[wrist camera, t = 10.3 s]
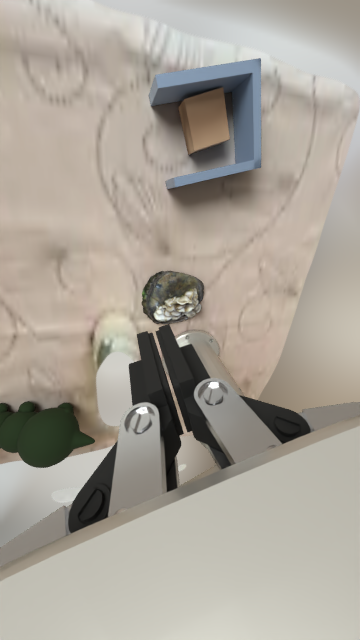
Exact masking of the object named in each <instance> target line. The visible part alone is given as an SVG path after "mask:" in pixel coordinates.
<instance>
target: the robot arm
mask: <svg viewBox="0 0 360 640" xmlns="http://www.w3.org/2000/svg"><path fill="white" fill-rule="evenodd" d="M156 335H157V338H158V341H159V344H160V348H161V351H162V354H163V355H162V361H161V358H160V355H159V352H158V349H157V346H156V343H155V340H154V336H153V333H149V334H148V332H147V331H146V332H143V333H140V334H137V338H138V344H139V349H140V355H141V360H140V361H137V362H134V363H131V364H129V373H130V383H131V394H132V403H133V406H132V407H131V408H129V410H127V411H126V413H125V414H124V416H123V417H122V419H121V423H120V429H119V436H118V441H117V442H116V443H115V445H114V446H113V448H112V449H111V450H110V452H109V453H108V454H107V456H106V457H105V458H104V460H103V461H102V462H101V464H100V465H99V467H98V468H97V469H96V470H95V472H94V473H93V475H92V476H91V477H90V478H89V480H88V481H87V483H86V484H85V485H84V487H83V488H82V489H81V491H80V492H79V493H78V495H77V496H76V498H75V500H74V501H73V503H72V504H71V505H69V506H68V507H65V506H63V507H61V508H59V509H58V510H56V511H55V512H53V513H52V514H50V515H49V516H47V517H46V518H44V519H43V520H41V521H40V522H38V523H37V524H35V525H34V526H32V527H31V528H29V529H27V530H26V531H24V532H23V533H21V534H20V535H18V536H17V537H15V538H14V539H12V540H11V541H9V542H8V543H6V544H5V545H3V546H2V547H0V640H360V402H351V403H344V404H337V405H331V406H323V407H316V408H309V409H303V410H302V413H296V412H294V411H291V410H289V409H285V408H282V407H278V406H275V405H272V404H268V403H264V402H261V401H258V400H254V399H251V398H248V397H245V396H244V394H243V393H242V391H241V390H240V388H239V387H238V385H237V384H236V382H235V381H234V379H233V378H232V376H231V375H230V374H229V372H228V371H227V369H226V368H225V366H224V365H223V363H222V362H221V360H220V359H219V357H218V356H219V346H218V343H217V341H216V340H215V339H214V337H213V336H212V335H210V334H209V333H207V332H204V331H201V330H192V331H187V332H184V333H181V334H179V335H178V336H176V337H175V336H174V334H173V332H172V330H171V328H170V326H169V324H168V325H165V326H162V327H159V331H156ZM162 364H163V365H162ZM163 367H164V368H163ZM164 370H165V371H166V373H167V374H168V375H169V377H170V380H171V383H172V386H173V389H174V392H175V395H176V398H177V401H178V404H179V407H180V410H181V414H182V417H183V420H184V423H185V426H186V429H187V432H190V431H192V432H193V435H194V437H195V438H196V440H198V441H200V443H201V444H202V445H203V446H204V447H205V448H207V449H208V450H209V452H210V454H211V456H212V458H213V459H214V461H215V463H216V465H215V466H214V467H212V468H210V469H209V470H207V471H205V472H203V473H201V474H200V475H198V476H196V477H194V478H193V479H191V480H189V481H187V482H185V483H184V484H182V485H181V486H180V484H179V474H178V464H177V458H176V455H177V453H178V451H179V449H180V447H181V440H180V437H179V435H182V434H184V433H183V430H182V426H181V423H180V420H179V417H178V413H177V410H176V407H175V403H174V400H173V397H172V394H171V390H170V387H169V384H168V381H167V377H166V374H165V371H164Z"/></svg>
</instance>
